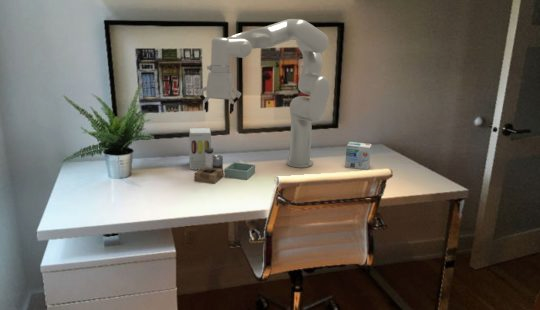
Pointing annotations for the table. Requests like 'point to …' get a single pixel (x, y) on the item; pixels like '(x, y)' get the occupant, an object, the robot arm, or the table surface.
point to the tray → (240, 170)
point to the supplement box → (198, 146)
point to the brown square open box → (209, 175)
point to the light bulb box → (358, 155)
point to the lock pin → (209, 160)
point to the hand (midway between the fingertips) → (218, 112)
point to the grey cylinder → (218, 161)
